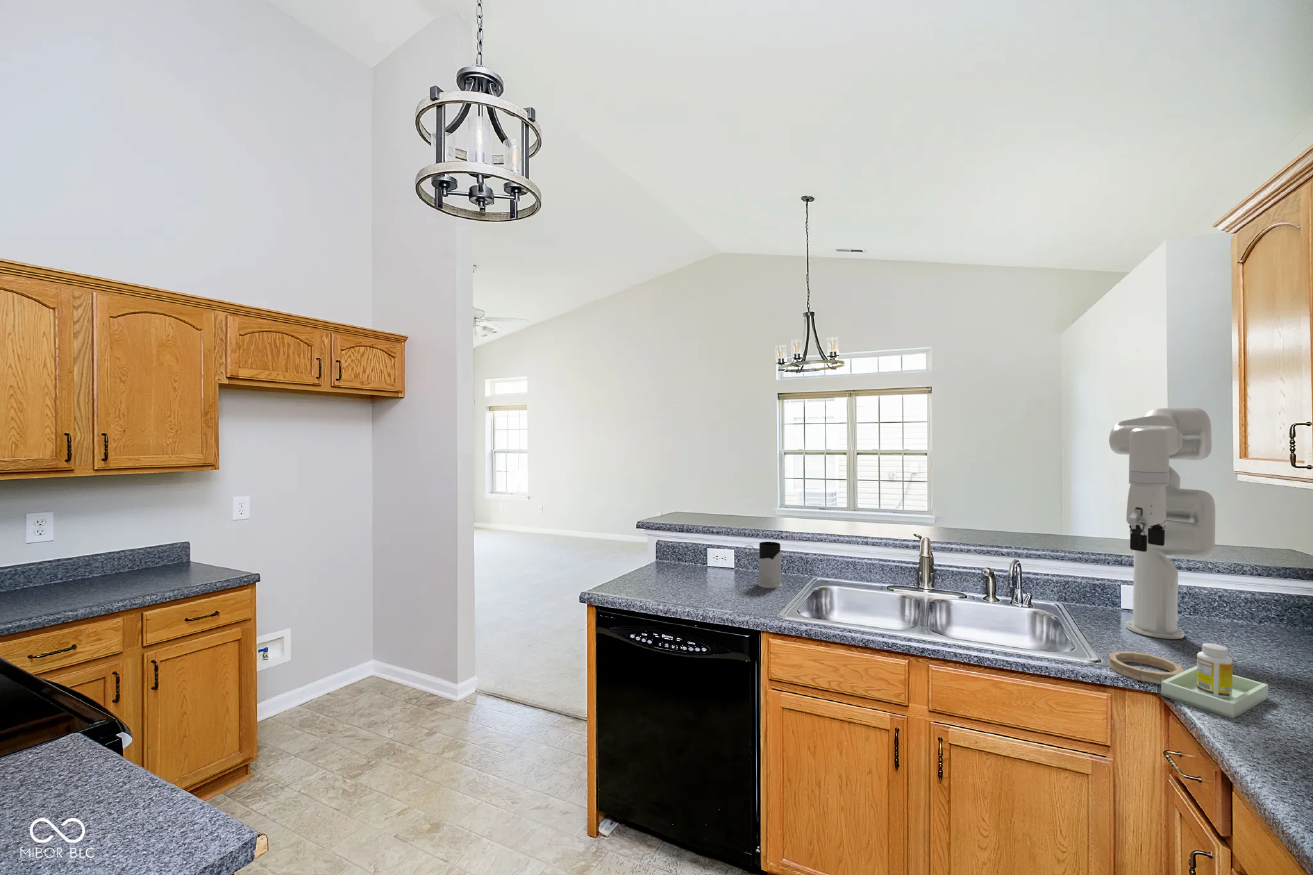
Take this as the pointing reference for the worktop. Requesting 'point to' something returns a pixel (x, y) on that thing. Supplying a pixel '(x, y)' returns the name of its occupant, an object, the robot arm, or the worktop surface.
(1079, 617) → the worktop surface
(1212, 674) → the supplement bottle
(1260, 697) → the tray
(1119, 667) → the collar
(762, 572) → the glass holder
